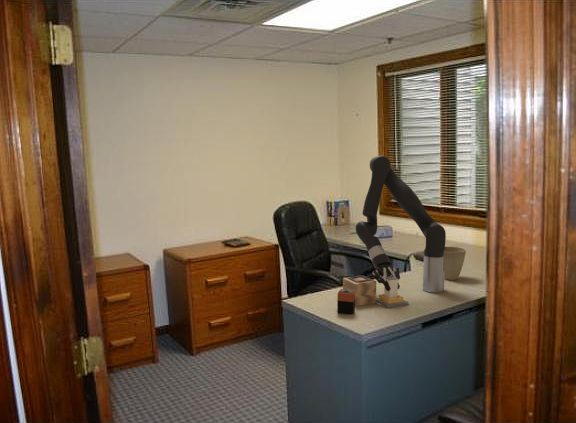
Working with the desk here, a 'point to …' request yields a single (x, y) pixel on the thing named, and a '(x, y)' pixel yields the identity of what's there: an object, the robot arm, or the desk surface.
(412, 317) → the desk surface
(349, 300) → the battery
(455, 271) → the plant pot
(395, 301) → the orange-framed grey plate
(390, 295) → the plug
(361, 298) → the wood grain square block
